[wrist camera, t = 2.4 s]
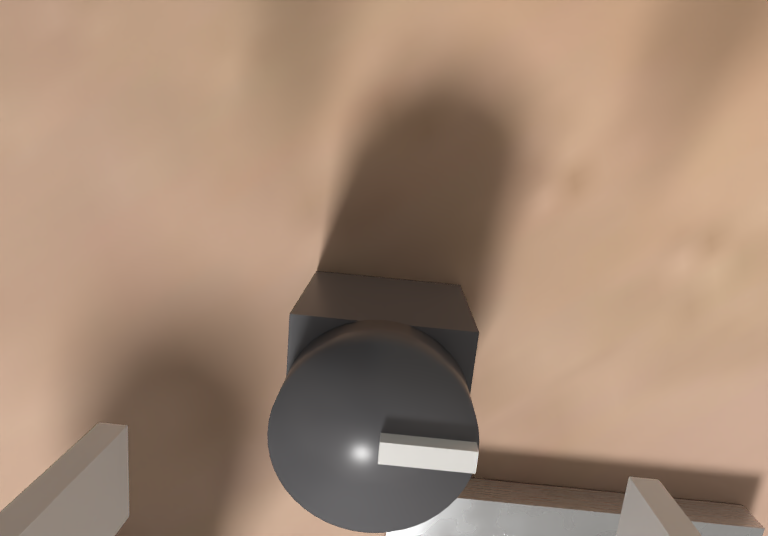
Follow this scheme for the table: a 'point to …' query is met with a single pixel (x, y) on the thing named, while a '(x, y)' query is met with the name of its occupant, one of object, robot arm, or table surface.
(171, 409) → the table surface
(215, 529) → the table surface
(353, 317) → the knob
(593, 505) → the grey square plate
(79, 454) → the robot arm
